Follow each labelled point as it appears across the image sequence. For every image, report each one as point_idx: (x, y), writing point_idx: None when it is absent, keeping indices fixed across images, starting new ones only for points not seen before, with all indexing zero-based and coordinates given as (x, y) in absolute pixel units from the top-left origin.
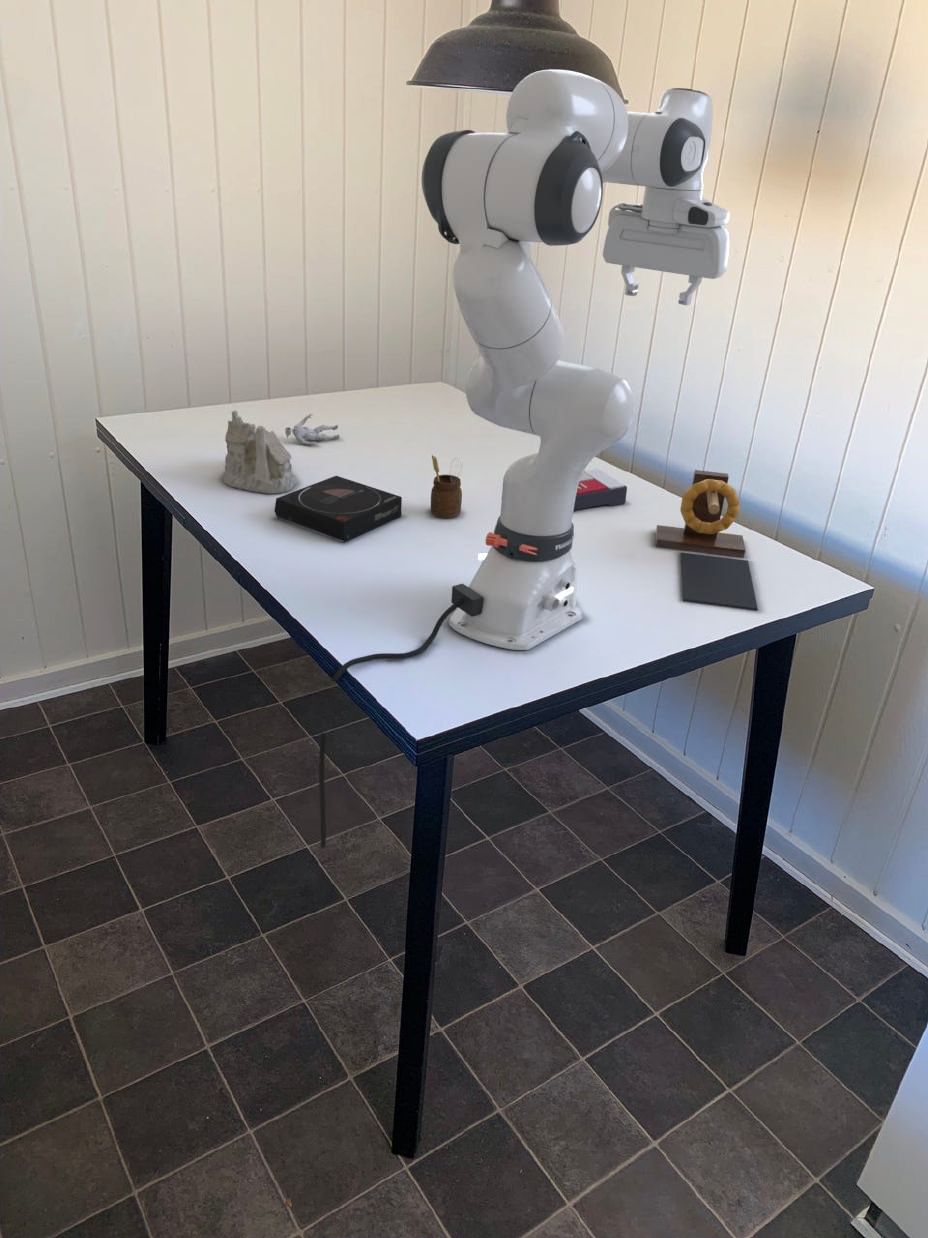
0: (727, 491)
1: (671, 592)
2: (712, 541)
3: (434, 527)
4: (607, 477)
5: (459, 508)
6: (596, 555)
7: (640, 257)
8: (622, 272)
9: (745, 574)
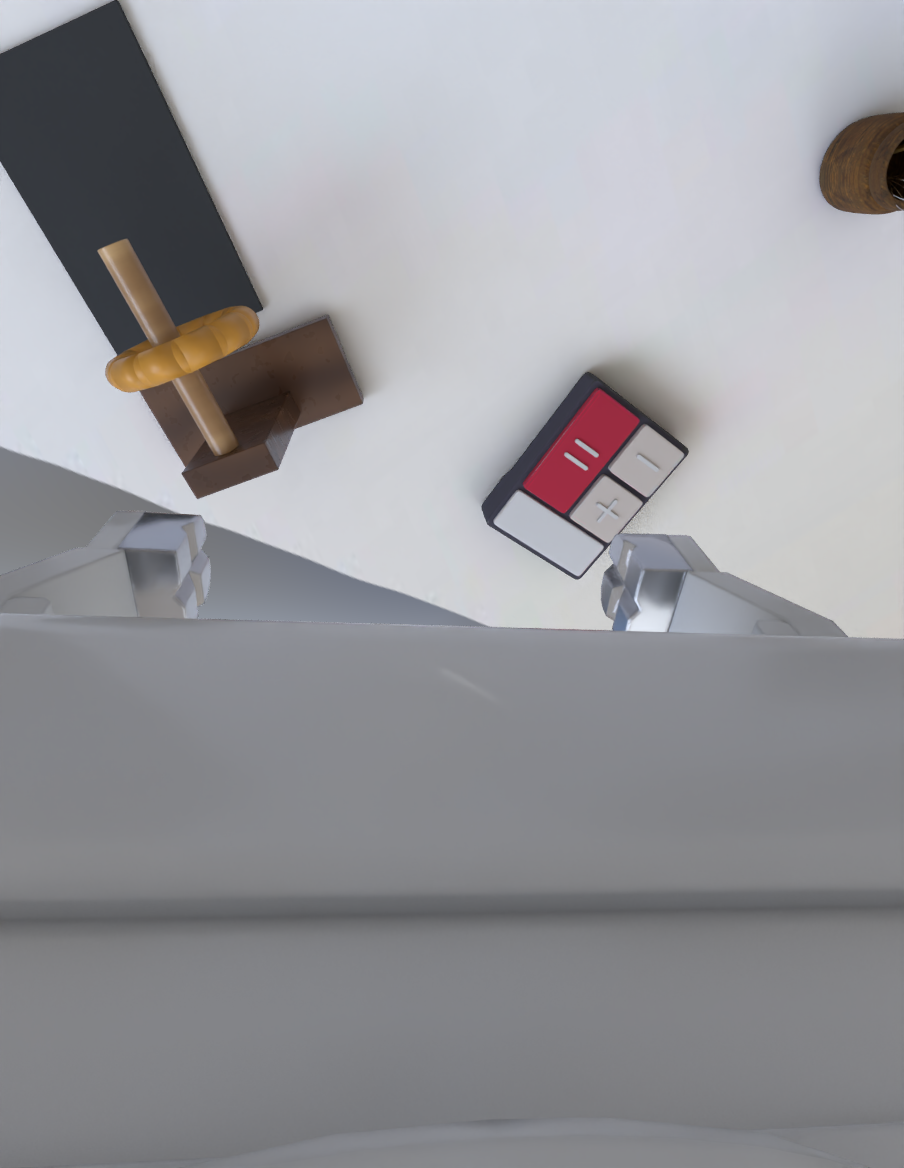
0: (124, 359)
1: (169, 41)
2: (219, 390)
3: (864, 40)
4: (542, 541)
5: (829, 166)
6: (423, 158)
7: (714, 696)
8: (817, 620)
9: (85, 279)
